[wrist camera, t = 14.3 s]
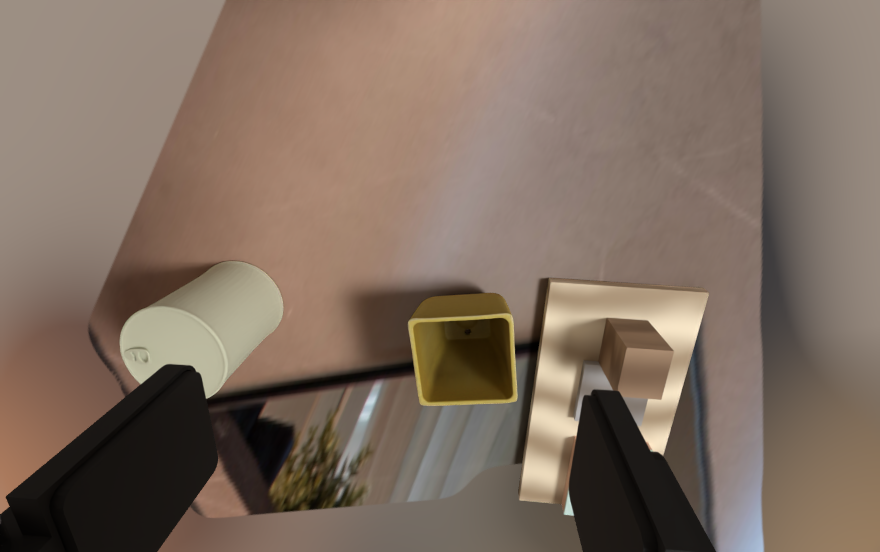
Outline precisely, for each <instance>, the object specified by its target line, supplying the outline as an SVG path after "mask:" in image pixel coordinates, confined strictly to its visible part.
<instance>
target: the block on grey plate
mask: <svg viewBox="0 0 880 552" xmlns="http://www.w3.org/2000/svg"><path fill="white" fill-rule="evenodd" d="M673 354H674V350H673V349H672V348H671V347H670V346H669V344H668V343H667V342H666V341H665V340H664V339H663V337H662V336H661V335H660V334H659V333H658V332H657V330H656V329H655V328H654V327H653V326H652V325H651V323H650V322H649V321H648V320H636V319H621V318H607V319H606V324H605V329H604V334H603V339H602V344H601V349H600V354H599V359H598V361H588V360H583V365H582V370H581V376H580V381H579V387H578V392H577V398H576V403H575V408H574V414H573V417H574V420H575V421H579V418H580V412H581V406H582V400H583V397H584V395H591V392H592V390H594V389H598V390H615V391H619V392H620V393H621V395H622V397H623V399H624V401H625V403H626V405H627V407H628V408H629V410H630V412H631V414H632V416H633V418H634V420H635V422H636V424H637V426H641V425H642V421H643V417H644V413H645V409H646V405H647V401H648V399H656V400H661V399H662V395H663V392H664V388H665V384H666V380H667V377H668V373H669V369H670V365H671V362H672V358H673Z"/></svg>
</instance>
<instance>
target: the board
mask: <svg viewBox="0 0 880 552" xmlns="http://www.w3.org/2000/svg"><path fill="white" fill-rule="evenodd" d="M708 295H709V292H708V291H706V290H705V289H704V288H695V287H680V286H665V285H650V284H634V283H619V282H604V281H589V280H574V279H559V278H549V280H548V287H547V294H546V301H545V308H544V315H543V322H542V329H541V336H540V343H539V350H538V357H537V364H536V371H535V378H534V385H533V392H532V399H531V406H530V413H529V420H528V427H527V434H526V441H525V448H524V455H523V462H522V469H521V476H520V484H519V490H518V494H519V500H522V501H533V502H544V503H545V502H546V503H555V504H562V499H563V493H564V488H565V483H566V478H567V472H568V467H569V462H570V457H571V451H572V446H573V441H574V436H577V430H578V424H579V421H575V420H574V417H573V414H574V408H575V403H576V398H577V392H578V387H579V381H580V376H581V370H582V365H583V360H588V361H598V359H599V354H600V349H601V344H602V339H603V334H604V329H605V324H606V319H607V318H621V319H636V320H648V321H649V322H650V323H651V325H652V326H653V327H654V328H655V329H656V330H657V332H658V333H659V334H660V335H661V336H662V337H663V339H664V340H665V341H666V342H667V343H668V344H669V346H670V347H671V348H672V349H673V350H674V354H673V358H672V362H671V365H670V369H669V373H668V377H667V380H666V384H665V388H664V392H663V395H662V399H661V400H656V399H648V401H647V405H646V409H645V413H644V417H643V421H642V425H641V426H638V428H639V430H640V432H641V434H642V435H643V437H644V439H645V441H646V442H648V443H649V445H650V447H651V449H652V450H653V452H659V453H660V454H662V456H663V454H664V450H665V447H666V443H667V440H668V436H669V433H670V429H671V426H672V422H673V419H674V415H675V412H676V408H677V405H678V401H679V398H680V394H681V390H682V387H683V383H684V380H685V376H686V373H687V369H688V366H689V362H690V359H691V355H692V352H693V348H694V345H695V341H696V337H697V334H698V330H699V327H700V323H701V320H702V316H703V313H704V309H705V306H706V302H707V299H708Z"/></svg>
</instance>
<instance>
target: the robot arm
mask: <svg viewBox="0 0 880 552" xmlns="http://www.w3.org/2000/svg"><path fill="white" fill-rule="evenodd" d="M217 463H218V454H217V449H216V444H215V439H214V434H213V430H212V425H211V420H210V415H209V410H208V405H207V400H206V395H205V391H204V386H203V381H202V377H201V374H200V373H199V372H196V370H195V368H194V367H193V366H191V365H178V364H166V365H164V366H162V367H161V368H160V369H159V370H158V371H156V372H155V373H154V374H153V375H152V376H150V377H149V378H148V379H147V380H146V381H144V382H143V383H142V384H141V385H139V386H138V387H137V388H136V389H135V390H133V391H132V392H131V393H130V394H129V395H127V396H126V397H125V398H124V399H123V400H121V401H120V402H119V403H118V404H117V405H115V406H114V407H113V408H112V409H111V410H109V411H108V412H107V413H106V414H105V415H103V416H102V417H101V418H100V419H99V420H97V421H96V422H95V423H94V424H93V425H91V426H90V427H89V428H88V429H87V430H85V431H84V432H83V433H82V434H81V435H79V436H78V437H77V438H76V439H74V440H73V441H72V442H71V443H70V444H68V445H67V446H66V447H65V448H64V449H62V450H61V451H60V452H59V453H58V454H57V455H55V456H54V457H53V458H52V459H50V460H49V461H48V462H47V463H46V464H44V465H43V466H42V467H41V468H39V469H38V470H37V471H36V472H35V473H33V474H32V475H31V476H30V477H29V478H28V479H26V480H25V481H24V482H23V483H21V484H20V485H19V486H18V487H17V488H16V489H14V490H13V491H12V492H11V493H9V494H8V495H7V496H6V499H7V501H8V504H9V506H10V507H9V508H8V509H6V510H5V511H4V512H3V513H2V514H0V552H157V551H158V550H159V548H160V547H161V546H162V544H163V543H164V542H165V540H166V539H167V537H168V536H169V534H170V533H171V532H172V530H173V529H174V527H175V526H176V525H177V523H178V522H179V521H180V519H181V518H182V516H183V515H184V514H185V512H186V510H187V509H188V508H189V507H190V505H191V504H192V502H193V501H194V499H195V498H196V497H197V495H198V494H199V492H200V491H201V490H202V488H203V487H204V485H205V484H206V483H207V481H208V480H209V478H210V477H211V476H212V474H213V473H214V471H215V469H216V467H217ZM569 497H570V502H571V506H572V510H573V514H574V517H575V522H576V526H577V530H578V534H579V538H580V542H581V545H582V550H583V552H716V551H715V549H714V547H713V545H712V544H711V542H710V540H709V538H708V536H707V534H706V533H705V531H704V529H703V527H702V525H701V523H700V522H699V520H698V518H697V516H696V514H695V513H694V511H693V509H692V507H691V505H690V503H689V502H688V500H687V498H686V496H685V494H684V492H683V491H682V489H681V487H680V485H679V483H678V482H677V480H676V478H675V476H674V474H673V472H672V471H671V469H670V467H669V465H668V463H667V461H666V460H665V458H664V457H663V456H662V454H660V453H659V452H651V451H650V449H649V447H648V445H647V443H646V441H645V439H644V437H643V435H642V434H641V432H640V430H639V428H638V426H637V424H636V422H635V420H634V418H633V416H632V414H631V412H630V410H629V408H628V407H627V405H626V403H625V401H624V399H623V397H622V395H621V393H620V392H619V391H615V390H598V389H594V390H592V392H591V395H584V397H583V400H582V406H581V412H580V418H579V424H578V430H577V436H576V442H575V448H574V454H573V460H572V466H571V472H570V478H569Z"/></svg>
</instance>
